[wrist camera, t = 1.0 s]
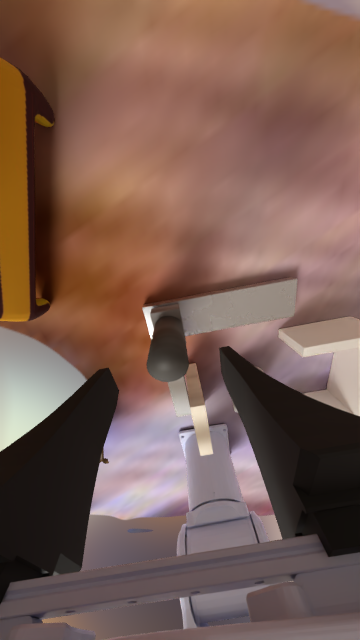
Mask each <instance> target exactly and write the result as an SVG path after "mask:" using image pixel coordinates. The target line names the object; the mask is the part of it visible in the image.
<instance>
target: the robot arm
mask: <svg viewBox="0 0 360 640" xmlns="http://www.w3.org/2000/svg"><path fill="white" fill-rule="evenodd" d="M219 351H220V362H221V372H222V376H223V379H224V382H225V385H226V387H227V390H228V392H229V394H230V396H231V398H232V400H233V403H234V405H235V407H236V409H237V411H238V413H239V415H240V418H241V420H242V422H243V424H244V427H245V429H246V432H247V435H248V437H249V440H250V443H251V446H252V448H253V451H254V454H255V457H256V460H257V463H258V466H259V468H260V471H261V474H262V477H263V480H264V483H265V486H266V489H267V492H268V495H269V498H270V501H271V504H272V507H273V510H274V513H275V516H276V520H277V522H278V526H279V529H280V532H281V535H282V538H283V539H282V540H275V541H269V539H268V536H267V533H266V530H265V528H264V525H263V523H262V520H261V519H260V517H259V516H258V515H256V514H255V512H254V511H251V512H248V509H247V505H246V502H244V501H243V497H242V494H241V490H240V487H239V483H238V480H237V476H236V473H235V469H234V466H233V463H232V459H231V456H230V450H229V440H228V431H227V425H226V424H219V425H214V426H209V432H210V438H211V444H212V450H213V454H210V455H204V456H200V451H199V447H198V442H197V437H196V433H195V429H190V430H184V431H180V432H179V437H180V441H181V445H182V448H183V452H184V455H185V459H186V471H187V485H188V499H189V512H188V513H186V518H187V524H183V525H182V527H181V531H180V533H179V535H178V543H177V556H175V557H168V558H162V559H156V560H149V561H143V562H137V563H131V564H124V565H118V566H111V567H105V568H99V569H93V570H86V571H80V570H81V568H82V561H83V554H84V546H85V540H86V533H87V526H88V520H89V514H90V508H91V503H92V497H93V492H94V487H95V482H96V477H97V472H98V467H99V463H100V458H101V454H102V450H103V447H104V443H105V440H106V437H107V434H108V431H109V428H110V425H111V422H112V418H113V415H114V412H115V409H116V405H117V400H118V394H119V390H118V387H117V385H116V383H115V381H114V379H113V376H112V374H111V372H110V370H109V368H105V369H99V370H98V371H97V372H96V373H95V374H94V375H93V376H92V377H91V378H89V379H88V380H87V381H86V382H85V383H84V384H83V385H82V386H81V387H80V388H79V389H78V390H77V391H76V392H75V393H74V394H73V395H72V396H71V397H69V398H68V399H67V400H66V401H65V402H64V403H63V404H62V405H61V406H60V407H58V408H57V409H56V410H55V411H54V412H53V413H51V414H50V415H49V416H48V417H47V418H45V419H44V420H43V421H42V422H41V423H39V424H38V425H37V426H35V427H34V428H33V429H31V430H30V431H29V432H28V433H26V434H25V435H23V436H22V437H21V438H19V439H18V440H16V441H15V442H14V443H12V444H11V445H10V446H8V447H7V448H5V449H4V450H2V451H1V452H0V640H95V636H96V635H95V632H94V631H89V630H82V629H77V628H74V627H71V626H70V625H68V624H67V623H43V622H42V620H41V619H47V618H54V617H61V616H67V615H74V614H80V613H87V612H93V611H99V610H106V609H113V608H119V607H126V606H132V605H139V604H144V603H151V602H158V601H164V600H170V599H177V598H180V602H181V608H182V613H183V626H184V629H179V630H170V631H160V632H152V633H145V634H137V635H130V636H123V637H116V638H109V639H103V640H360V416H357V415H354V414H352V413H349V412H346V411H343V410H340V409H338V408H335V407H332V406H330V405H328V404H325V403H323V402H320V401H318V400H315V399H313V398H311V397H309V396H306V395H304V394H302V393H300V392H298V391H296V390H294V389H292V388H290V387H288V386H286V385H284V384H282V383H281V382H279V381H277V380H275V379H273V378H272V377H270V376H268V375H267V374H265V373H264V372H262V371H261V370H259V369H258V368H256V367H255V366H254V365H252V364H251V363H250V362H248V361H247V360H246V359H244V358H243V357H242V356H240V355H239V354H238V353H237V352H236V351H234V350H233V349H232V348H231V347H229V346H226V347H221V348H219ZM249 514H250V515H249ZM250 518H251V519H250ZM79 571H80V572H79ZM288 581H294V582H288ZM245 616H250V621H251V622H250V623H240V624H230V625H220V626H209V625H208V622H213V621H220V620H226V619H232V618H239V617H245Z"/></svg>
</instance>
